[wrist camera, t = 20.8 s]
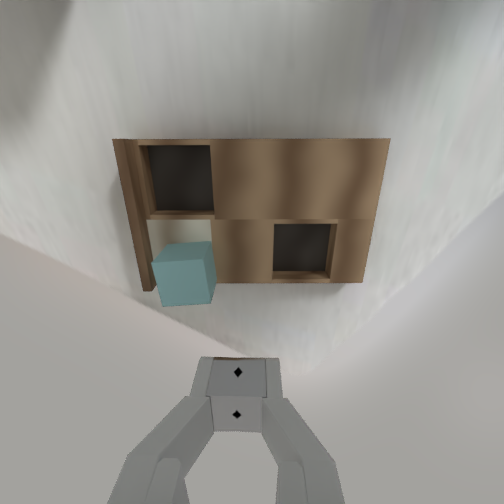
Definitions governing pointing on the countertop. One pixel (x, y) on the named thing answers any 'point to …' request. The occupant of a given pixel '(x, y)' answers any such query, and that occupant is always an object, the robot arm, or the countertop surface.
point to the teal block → (185, 273)
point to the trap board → (255, 204)
